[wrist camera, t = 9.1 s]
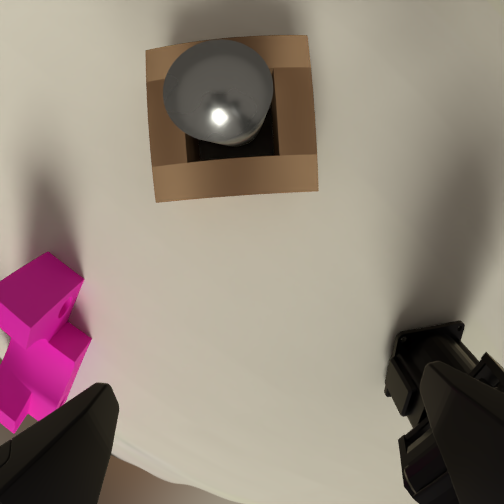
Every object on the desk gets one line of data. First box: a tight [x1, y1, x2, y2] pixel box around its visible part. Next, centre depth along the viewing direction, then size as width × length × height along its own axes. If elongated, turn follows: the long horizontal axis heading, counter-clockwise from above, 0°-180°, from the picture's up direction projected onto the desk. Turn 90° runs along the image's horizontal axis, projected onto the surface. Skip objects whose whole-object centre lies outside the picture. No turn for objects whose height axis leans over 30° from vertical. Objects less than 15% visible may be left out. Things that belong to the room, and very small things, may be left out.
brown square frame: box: [146, 35, 318, 203], centre depth 16 cm, size 8×8×4 cm
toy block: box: [0, 252, 92, 433], centre depth 19 cm, size 15×6×8 cm, turn 145°
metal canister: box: [163, 39, 273, 147], centre depth 13 cm, size 3×3×10 cm
